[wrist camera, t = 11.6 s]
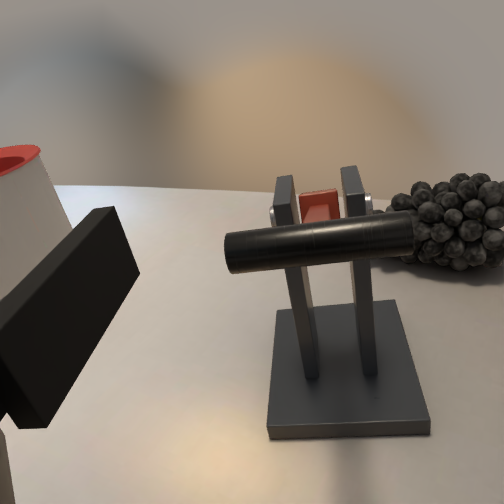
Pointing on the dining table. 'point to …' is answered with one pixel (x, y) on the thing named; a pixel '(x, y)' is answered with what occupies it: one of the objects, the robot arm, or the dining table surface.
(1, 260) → the citrus juicer
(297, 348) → the bracket
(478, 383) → the dining table surface
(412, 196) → the fruit
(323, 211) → the lever
